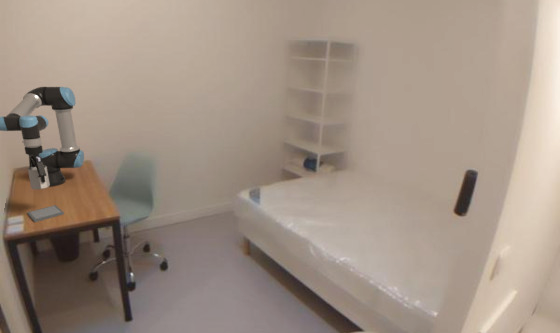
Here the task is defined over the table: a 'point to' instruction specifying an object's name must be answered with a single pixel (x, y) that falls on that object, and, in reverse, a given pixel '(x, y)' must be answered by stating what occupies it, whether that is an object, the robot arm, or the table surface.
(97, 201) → the table surface
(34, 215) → the coaster
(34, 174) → the mug
